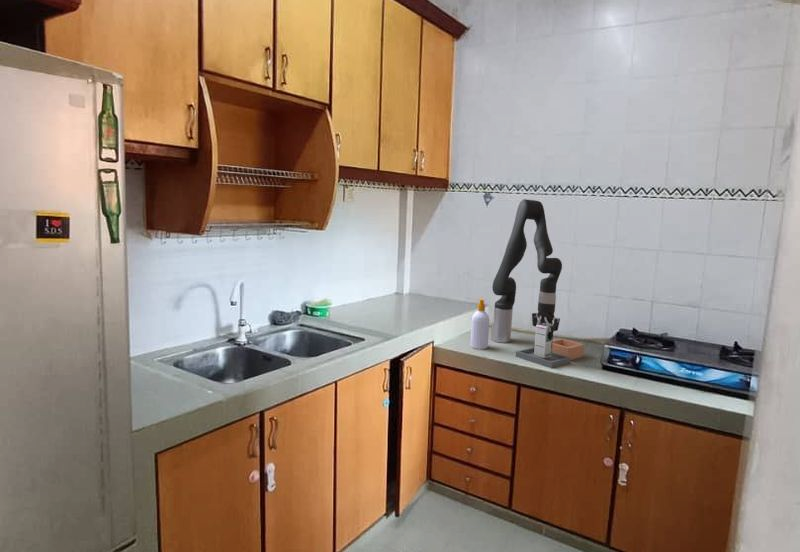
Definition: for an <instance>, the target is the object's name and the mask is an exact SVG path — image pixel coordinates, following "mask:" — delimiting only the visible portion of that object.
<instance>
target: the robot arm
mask: <svg viewBox="0 0 800 552" xmlns="http://www.w3.org/2000/svg"><path fill="white" fill-rule="evenodd" d="M527 220H530V221H531V220H532V221H534V222H535V225H536V227H535V228H536V229H535V232H534V235H533V243H534V248H535V250H536V254H537V256H536V258H537V263H536V264H537V266H536V267H537V269H538V271H539V272H540V273H541V274H544V275H545V274H547V275H548V274H549V275H548V276H547V277H545V278H542V279H541V280H540V285H539V294H538V301H537V311H538V312H533V313H532V314H531V322H532V323H531V324H532V326H533V327H535V328H536V325H540V324H546V325H547V327H548V329H549V332H548V340H551V339H552V338H553V339H554V332H557V331H558V330H559V325H560V322H561V318H560V317H556V316H555V312H556V304H557V303H556V301H557V293H556V292H557V283H558V280H559V277H560V275H561V273H562V269H563V263H562V260H561V258H558V257H549V256H551V255H552V254H553V252H554V251H553V247H552V243H551V240H550V237H549V233H548V227H547V220H546V213H545V209H544V204H543V203H542V202H541V201H539V200H534V199H528V198H527V199H526V198H524V199H522V200H521V201H520V202H519V203H518V207H517V210H516V213H515V219H514V222H513V226H512V230H511V234H510V237H509V239H508V242H507V245H506V248H505V252H504V255H503V257H502V260H501V263H500V265H499V268H498V270H497V272H496V274H495V277H494V279H493V281H492V286H491V287H492V288H491V289H492V292H493V294H495V296H500V298H499V299H498V300H496V301H495V302H494V309H493V321H492V322H491V332H490V333H491V334H490V340H492V341H493V342H497V343H504V344H505V343H511V338H512V337H511V336H512V324H513V323H512V322H513V308H514V304H515V301H516V294H517V284H516V283H517V282H516V281H515V279H514V278H513V277H511V276H510V274H511V273H512V271H514V269H515V268H516V267H517V266H518V265H519V263H520V262H521V261H522V260H523V258H524V256H525V253H526V250H527V246H528V242H527V238H526V235H525V230H524V229H525V225H526V221H527Z"/></svg>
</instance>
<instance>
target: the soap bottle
mask: <svg viewBox="0 0 800 552" xmlns="http://www.w3.org/2000/svg"><path fill="white" fill-rule="evenodd" d="M478 300H479V301H478V302H479V303H478V305H477V310H476V311H475V312H474V313H473V314H472V317H471V326H470V342H469V344H470V345H469V346H470V347H471V348H473V349H477V350H485V349H487V348H488V347H489V331H490V316H489V314H488V313H487V312H486V305H485V299H483V298H482V297H480V299H478Z"/></svg>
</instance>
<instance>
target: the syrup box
mask: <svg viewBox="0 0 800 552" xmlns="http://www.w3.org/2000/svg"><path fill="white" fill-rule="evenodd" d="M548 332H549V329H548V327H547V325H546V324H544V323H543V324H540V325H536V327H535V337H534V347H535V349H534V355H535V356H538V357H542V358H546V357H550V356H552V342H553V340H554V337H553V338H552V339H551V340H548Z"/></svg>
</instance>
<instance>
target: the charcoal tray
mask: <svg viewBox="0 0 800 552" xmlns="http://www.w3.org/2000/svg"><path fill="white" fill-rule="evenodd" d="M534 349H535V346H533V347H528V348H524V349H520V350H519V349H518V350H516V351H515V358H518V357H519V359H521V358H522V360H524V359H525V361H529V362H531V363H534V364H537V365H540V364H541V365H540V366H544V367H547V368H550V369H554V368H557V366H558V367H560V365H561V366H564V364H565V365H569V364H571V361H572V360H571V357H567V356H564V355H560V354H557V353H554V352H552V356H550V357H546V358H542V357H538V356H535V355H534ZM568 363H569V364H568Z"/></svg>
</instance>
